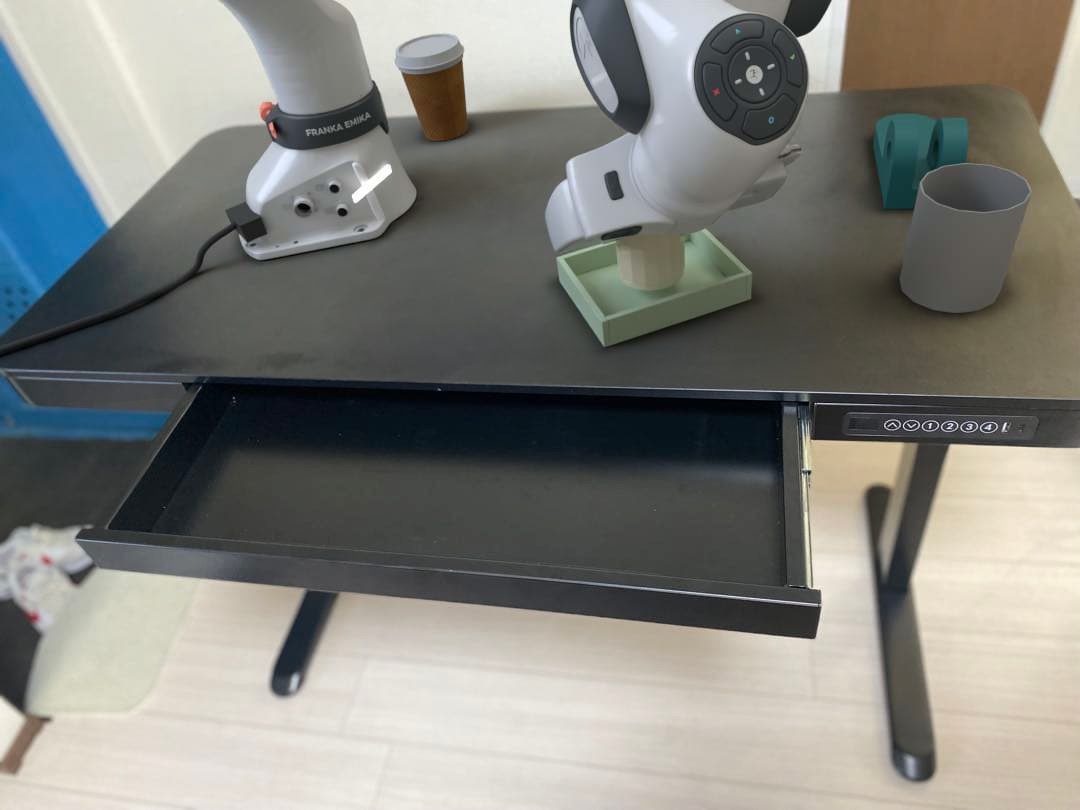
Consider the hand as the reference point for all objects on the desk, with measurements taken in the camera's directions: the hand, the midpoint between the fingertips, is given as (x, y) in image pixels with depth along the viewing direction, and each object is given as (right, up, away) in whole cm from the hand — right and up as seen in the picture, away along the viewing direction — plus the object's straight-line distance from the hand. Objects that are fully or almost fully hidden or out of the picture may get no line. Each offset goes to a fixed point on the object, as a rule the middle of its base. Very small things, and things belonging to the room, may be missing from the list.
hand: (646, 224), depth 74 cm
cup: (+28, -6, -1) cm, 28 cm away
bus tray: (+1, -6, +4) cm, 7 cm away
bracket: (+32, +10, +15) cm, 36 cm away
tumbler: (+1, -4, +3) cm, 5 cm away
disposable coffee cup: (-23, +22, +39) cm, 51 cm away
